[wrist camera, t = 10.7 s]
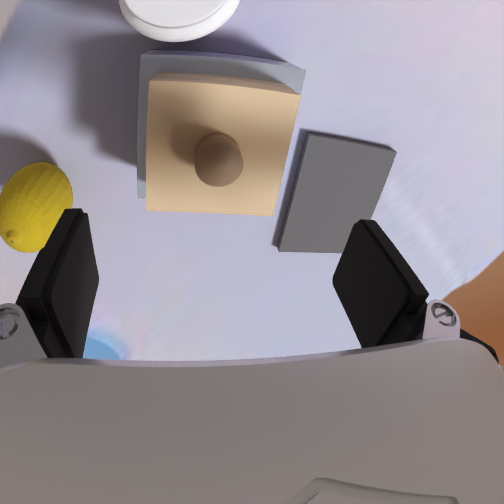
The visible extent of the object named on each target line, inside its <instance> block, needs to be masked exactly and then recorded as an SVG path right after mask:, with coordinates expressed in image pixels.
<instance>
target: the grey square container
mask: <svg viewBox="0 0 504 504" xmlns="http://www.w3.org/2000/svg"><path fill="white" fill-rule="evenodd" d="M157 72H173V73H194V74H209V75H220V76H230V77H239V78H248V79H255V80H262V81H269V82H276V83H282V84H286V85H287V86H289V87H290V88H291V89H293V90H294V91H296V92H297V93H298V94H300V95H301V91H302V86H303V82H304V77H305V73H306V70H304V69H302V68H299V67H297V66H295V65H293V64H291V63H288V62H283V61H278V60H272V59H265V58H259V57H251V56H244V55H235V54H226V53H215V52H201V51H182V50H150V51H148V52H146V53H144V54H142V55H141V58H140V71H139V87H138V110H137V188H138V198H146V136H147V111H148V94H149V81H150V80H151V79H152V78H153V77H154V76H155V74H156V73H157Z"/></svg>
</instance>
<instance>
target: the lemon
mask: <svg viewBox="0 0 504 504" xmlns="http://www.w3.org/2000/svg"><path fill="white" fill-rule="evenodd" d="M72 203H73V193H72V187H71V185H70V182H69V179H68V178H67V176H66V175H65V173H64V172H63V171H62V170H61V169H60V168H58V167H56V166H55V165H53V164H50V163H46V162H36V163H32V164H29V165H26V166H25V167H23V168H21V169H20V170H18V171H17V172H16V173H15V174H14V175H13V176H12V177H11V178H10V179H9V181H8V182H7V183H6V184H5V186H4V188H3V190H2V192H1V194H0V235H1V237H2V238H3V240H4V241H5V242H6V243H7V244H8V245H9V246H10V247H12V248H13V249H15V250H17V251H21V252H36V251H39V250H41V248H43V247H44V246H45V244H46V242H47V240H48V238H49V237H50V235H51V233H52V231H53V229H54V227H55V225H56V224H57V222H58V220H59V218H60V217H61V215H62V213H63V211H64V210H65V209H72Z"/></svg>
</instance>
